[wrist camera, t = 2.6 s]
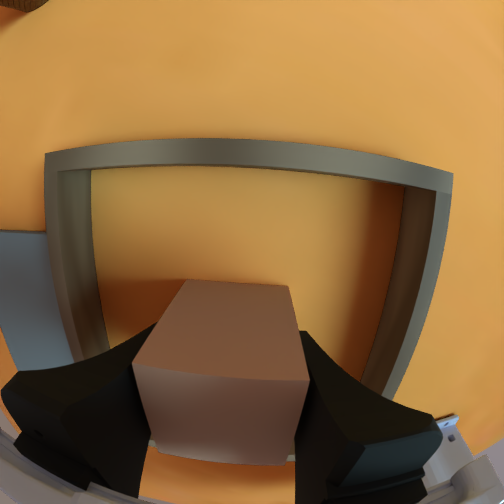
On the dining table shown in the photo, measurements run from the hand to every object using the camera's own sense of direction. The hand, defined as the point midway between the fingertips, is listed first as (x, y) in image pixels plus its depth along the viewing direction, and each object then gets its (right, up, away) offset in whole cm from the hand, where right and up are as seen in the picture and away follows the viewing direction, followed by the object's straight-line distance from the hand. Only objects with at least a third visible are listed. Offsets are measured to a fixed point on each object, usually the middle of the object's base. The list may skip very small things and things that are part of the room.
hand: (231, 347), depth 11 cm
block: (0, 0, +2) cm, 2 cm away
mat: (-13, -1, +2) cm, 13 cm away
